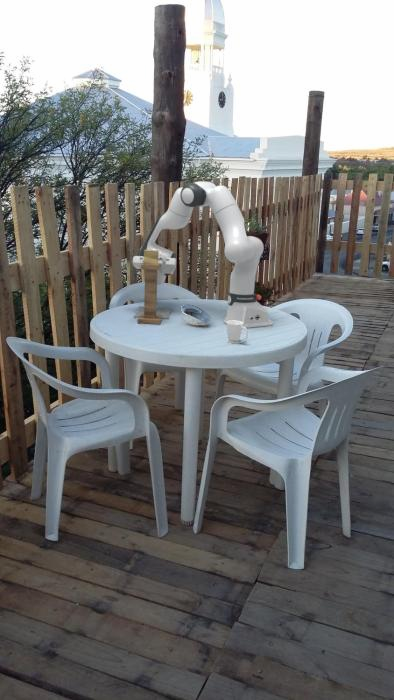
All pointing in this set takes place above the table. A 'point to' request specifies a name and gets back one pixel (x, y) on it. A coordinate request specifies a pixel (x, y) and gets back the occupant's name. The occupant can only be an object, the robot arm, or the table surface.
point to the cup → (235, 331)
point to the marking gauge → (151, 257)
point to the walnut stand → (150, 296)
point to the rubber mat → (159, 311)
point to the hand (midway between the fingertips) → (153, 256)
